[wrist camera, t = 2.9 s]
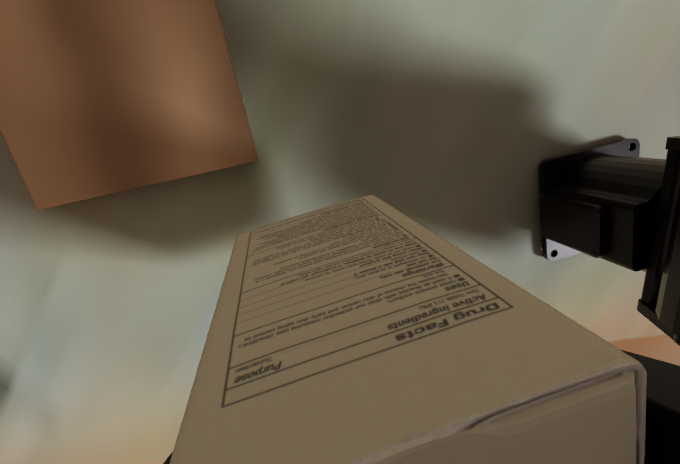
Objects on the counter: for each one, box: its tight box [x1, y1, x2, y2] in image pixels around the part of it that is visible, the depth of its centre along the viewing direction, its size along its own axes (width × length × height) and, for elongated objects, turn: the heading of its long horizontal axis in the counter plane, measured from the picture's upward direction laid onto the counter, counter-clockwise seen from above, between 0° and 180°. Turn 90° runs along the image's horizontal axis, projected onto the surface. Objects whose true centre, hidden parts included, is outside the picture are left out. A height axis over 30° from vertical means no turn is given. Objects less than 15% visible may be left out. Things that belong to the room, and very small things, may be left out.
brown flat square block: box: [0, 0, 258, 210], centre depth 17 cm, size 10×10×2 cm
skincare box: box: [170, 195, 647, 464], centre depth 10 cm, size 6×4×12 cm
